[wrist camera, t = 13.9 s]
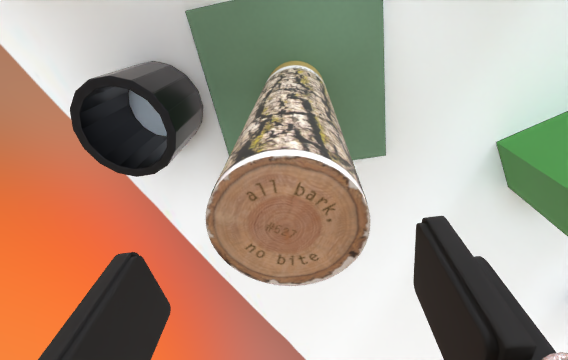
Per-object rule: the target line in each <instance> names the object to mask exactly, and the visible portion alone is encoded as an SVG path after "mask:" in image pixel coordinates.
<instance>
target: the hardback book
mask: <svg viewBox="0 0 568 360" xmlns="http://www.w3.org/2000/svg"><path fill="white" fill-rule="evenodd" d="M496 143H497V147H498V151H499V154H500V158H501V162H502V165H503V169H504V173H505V177H506V180H507V184H508V187H509V188H510V189H511V190H513V191H514V192H515V193H516V194H517V195H519V196H520V197H521V198H522V199H523V200H525V201H526V202H527V203H528V204H529V205H531V206H532V207H533V208H534V209H535V210H537V211H538V212H539V213H540V214H541V215H543V216H544V217H545V218H546V219H547V220H549V221H550V222H551V223H552V224H553V225H555V226H556V227H557V228H558V229H559V230H561V231H562V232H563V233H564V234H566V235H567V236H568V111H567V112H565V113H563V114H560V115H558V116H556V117H554V118H551V119H549V120H547V121H544V122H542V123H540V124H537V125H535V126H533V127H530V128H528V129H526V130H523V131H521V132H519V133H517V134H514V135H512V136H510V137H507V138H505V139H503V140H500V141H498V142H496Z"/></svg>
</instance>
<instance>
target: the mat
mask: <svg viewBox="0 0 568 360" xmlns="http://www.w3.org/2000/svg"><path fill="white" fill-rule="evenodd" d="M185 12H186V15H187V19H188V22H189V25H190V28H191V32H192V35H193V38H194V41H195V45H196V48H197V51H198V55H199V58H200V61H201V64H202V68H203V71H204V74H205V78H206V81H207V84H208V87H209V91H210V94H211V97H212V101H213V104H214V107H215V110H216V114H217V117H218V120H219V124H220V127H221V130H222V133H223V137H224V140H225V143H226V147H227V150H228V153H229V156H230V154H231V152H232V150H233V148H234V146H235V144H236V142H237V140H238V138H239V136H240V134H241V132H242V130H243V128H244V126H245V124H246V122H247V120H248V118H249V116H250V114H251V112H252V110H253V108H254V106H255V104H256V102H257V100H258V98H259V96H260V94H261V92H262V90H263V88H264V86H265V84H266V82H267V80H268V78H269V76H270V75H271V73H272V72H273V71H274V70H275V69H276V68H277V67H278V66H280V65H281V64H283V63H286V62H289V61H302V62H305V63H308V64H310V65H311V66H313V67H314V68H315V69H316V70H317V71H318V72H319V73H320V75H321V76H322V79H323V81H324V84H325V86H326V89H327V92H328V94H329V97H330V100H331V103H332V106H333V108H334V111H335V114H336V117H337V120H338V122H339V125H340V128H341V131H342V134H343V136H344V139H345V142H346V145H347V148H348V150H349V153H350V156H351V159H352V160H357V159H364V158H371V157H378V156H385V155H386V145H385V89H384V33H383V0H232V1H227V2H223V3H219V4H214V5H210V6H205V7H201V8H197V9H192V10H188V11H185Z"/></svg>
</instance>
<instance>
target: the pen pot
mask: <svg viewBox="0 0 568 360" xmlns="http://www.w3.org/2000/svg"><path fill="white" fill-rule="evenodd" d="M128 90H131V91H133V92H135V93H136V94H138V95H140V96H141V97H143V98H144V99H146V100H148V102H149V103H150V104H151V105H152V106H153V107H154V109H155V110H156V111H157V112H158V113H159V114H160V116H161V119H162V121H163V124H164V126H165V129H166V131H167V137H164V136H159V135H155V134H154V133H152V132H150V131H149V130H147V129H145V128H144V127H143V126H142V125H141V124H140V123H139V122H138V121H137V119H136V118H135V117H134V115H133V113H132V110H131V108H130V106H129V99H128ZM70 114H71V120H72V126H73V130H74V132H75V133H76V135H77V137H78V139H79V141H80V143H81V144H82V146H83V147H84V149H85V150H87V152H88V153H89V154H91V156H93V157H94V158H95V159H96V160H97V161H98V162H99V163H100V164H102V165H104V166H106V167H108V168H110V169H112V170H113V171H115V172H117V173H122V174H126V175H131V176H136V177H137V176H144V175H151V174H155V173H157V172H158V171H160V170H161V169H163V168H164V167H166V166H167V165H168V164H169V163H170V162H171V161H172V160H173V158H174V157H175V156H176V155H177V154H178V153H179V152H180V151H181V149H182V148H183V147H184V146H185V145H186V144H187V143H188V141H189V140H190V139H191V138H192V137H193V136H194V135H195V133H196V132H197V130H198V128H199V126H200V124H201V123H202V115H203V105H202V102H201V99H200V95H199V92H198V90H197V89H196V87H195V86H194V85H193V83H192V82H191V81H190V79H189V78H188V77H187V76H186V75H185V74H183V73H182V72H180V71H179V70H177V69H176V68H174V67H173V66H171V65H168V64H164V63H159V62H155V61H152V62H147V63H142V64H137V65H134V66H131V67H128V68H124V69H121V70H118V71H115V72H111V73H108V74H105V75H102V76H98V77H95V78H92V79H89V80H88V81H87V82H85V83H84V84H83V85H82V86H81V87H80V88H79V89H78V90H76V91H75V94H74V97H73V100H72V104H71V107H70Z"/></svg>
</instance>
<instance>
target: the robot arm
mask: <svg viewBox="0 0 568 360" xmlns="http://www.w3.org/2000/svg"><path fill="white" fill-rule="evenodd" d="M414 288H415V292H416V294H417V297H418V299H419V301H420V304H421V306H422V308H423V311H424V313H425V316H426V318H427V320H428V323H429V325H430V327H431V330H432V332H433V335H434V337H435V339H436V342H437V344H438V347H439V349H440V351H441V354H442V356H443V358H444V360H568V353H562V352H560V353H556V352H555V350H554V349H553V348H552V346H551V345H550V344H549V342H548V341H547V340H546V338H545V337H544V336H543V334H542V333H541V332H540V330H539V329H538V328H537V327H536V325H535V324H534V323H533V321H532V320H531V319H530V317H529V316H528V315H527V313H526V312H525V311H524V309H523V308H522V307H521V305H520V304H519V303H518V301H517V300H516V299H515V298H514V296H513V295H512V294H511V292H510V291H509V290H508V288H507V287H506V286H505V284H504V283H503V282H502V280H501V279H500V278H499V276H498V275H497V274H496V272H495V271H494V270H493V268H492V267H491V266H490V265H489V263H488V262H487V261H486V260H485V259H484V258H482V257H481V256H476V257H473V256H472V254H471V253H470V251H469V250H468V249H467V247H466V246H465V244H464V243H463V242H462V240H461V239H460V237H459V236H458V235H457V233H456V232H455V230H454V229H453V228H452V226H451V225H450V223H449V222H448V221H447V219H446V218H445V217H444V216H436V217H428V218H423V219H422V223H418V224H417V225H416V242H415V263H414ZM169 315H170V304H169V302H168V300H167V298H166V297H165V295H164V293H163V292H162V290H161V288H160V286H159V285H158V283H157V281H156V279H155V278H154V276H153V274H152V273H151V271H150V269H149V267H148V266H147V264H146V262H145V261H144V259H143V258H142V257H141V256H139V255H138V254H137V253H135V252H131V253H123V254H118V255H116V256H115V257H114V259H113V260H112V261H111V262H110V264H109V265H108V266H107V268H106V269H105V271H104V272H103V273H102V275H101V276H100V277H99V278H98V280H97V281H96V283H95V284H94V285H93V287H92V288H91V289H90V291H89V292H88V293H87V295H86V296H85V297H84V299H83V300H82V301H81V303H80V304H79V305H78V307H77V308H76V310H75V311H74V312H73V313H72V315H71V316H70V317H69V319H68V320H67V321H66V323H65V324H64V325H63V327H62V328H61V330H60V331H59V332H58V334H57V335H56V336H55V338H54V339H53V340H52V342H51V343H50V344H49V346H48V347H47V348H46V350H45V351H44V352H43V354H42V355H41V357H40V358H39V359H38V360H151V358H152V355H153V353H154V351H155V348H156V346H157V343H158V341H159V339H160V336H161V334H162V331H163V329H164V327H165V324H166V322H167V320H168V317H169Z"/></svg>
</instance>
